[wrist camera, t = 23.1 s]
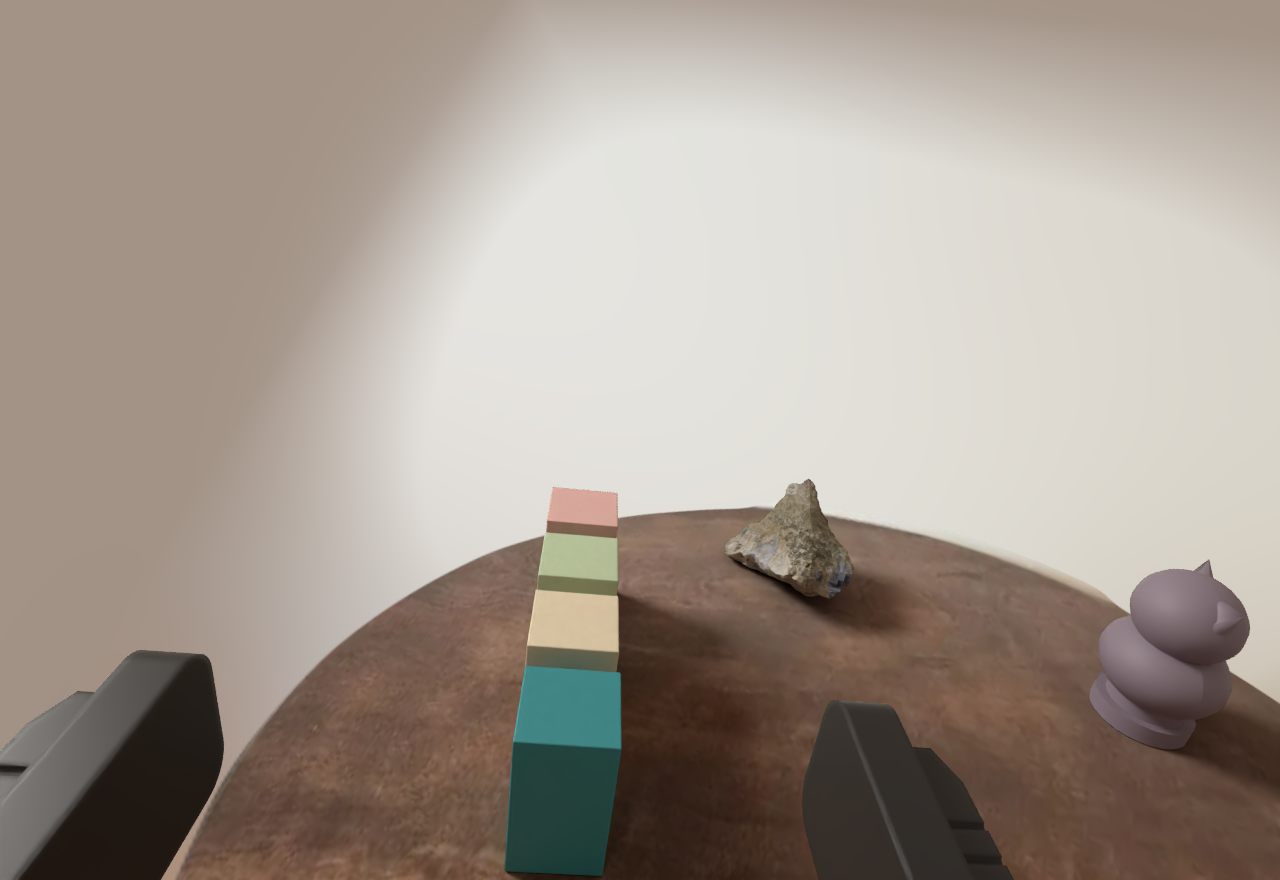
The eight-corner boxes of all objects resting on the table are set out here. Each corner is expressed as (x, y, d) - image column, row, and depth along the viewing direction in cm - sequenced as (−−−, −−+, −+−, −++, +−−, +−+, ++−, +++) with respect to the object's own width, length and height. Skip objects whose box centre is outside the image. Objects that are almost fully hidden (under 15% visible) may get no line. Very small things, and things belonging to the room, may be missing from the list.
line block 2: (603, 690, 48) (618, 581, 45) (529, 685, 48) (538, 574, 44) (604, 641, 53) (617, 538, 49) (537, 636, 53) (545, 531, 49)
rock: (713, 539, 66) (794, 465, 65) (747, 572, 69) (824, 502, 68) (774, 616, 56) (869, 531, 56) (809, 650, 59) (900, 570, 59)
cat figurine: (1069, 659, 58) (1128, 533, 53) (1181, 695, 55) (1254, 566, 50) (1085, 732, 50) (1156, 594, 46) (1215, 778, 48) (1304, 636, 43)
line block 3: (602, 770, 43) (619, 652, 39) (518, 765, 42) (526, 645, 39) (603, 707, 47) (618, 595, 43) (527, 702, 47) (535, 589, 43)
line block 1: (605, 627, 54) (617, 526, 51) (538, 622, 54) (547, 520, 50) (605, 588, 59) (617, 492, 55) (544, 583, 59) (552, 486, 55)
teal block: (602, 876, 37) (621, 749, 33) (504, 871, 36) (512, 742, 33) (603, 792, 41) (621, 672, 38) (516, 787, 41) (525, 665, 37)
